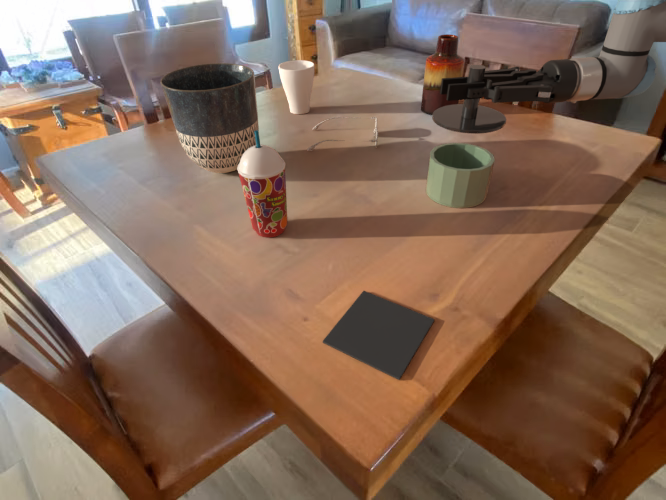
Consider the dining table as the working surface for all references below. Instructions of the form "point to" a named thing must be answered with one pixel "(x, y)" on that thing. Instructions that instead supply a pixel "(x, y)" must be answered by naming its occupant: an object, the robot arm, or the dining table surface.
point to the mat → (380, 333)
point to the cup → (297, 84)
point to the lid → (470, 112)
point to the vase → (441, 73)
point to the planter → (213, 112)
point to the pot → (459, 174)
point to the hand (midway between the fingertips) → (445, 89)
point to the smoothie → (264, 188)
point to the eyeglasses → (342, 140)
